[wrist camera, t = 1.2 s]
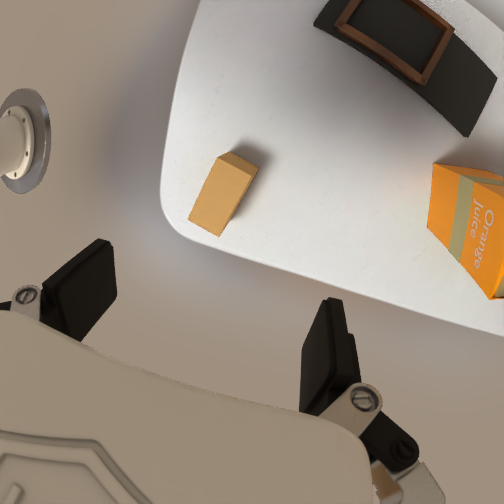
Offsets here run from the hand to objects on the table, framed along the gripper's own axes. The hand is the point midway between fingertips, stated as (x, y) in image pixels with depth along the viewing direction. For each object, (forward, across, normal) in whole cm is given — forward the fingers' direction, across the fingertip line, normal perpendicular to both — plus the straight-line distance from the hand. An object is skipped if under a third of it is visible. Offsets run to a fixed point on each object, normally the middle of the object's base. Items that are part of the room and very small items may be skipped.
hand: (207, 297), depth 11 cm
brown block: (+20, +4, +1) cm, 20 cm away
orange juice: (+20, -23, -5) cm, 31 cm away
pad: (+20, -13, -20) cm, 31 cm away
